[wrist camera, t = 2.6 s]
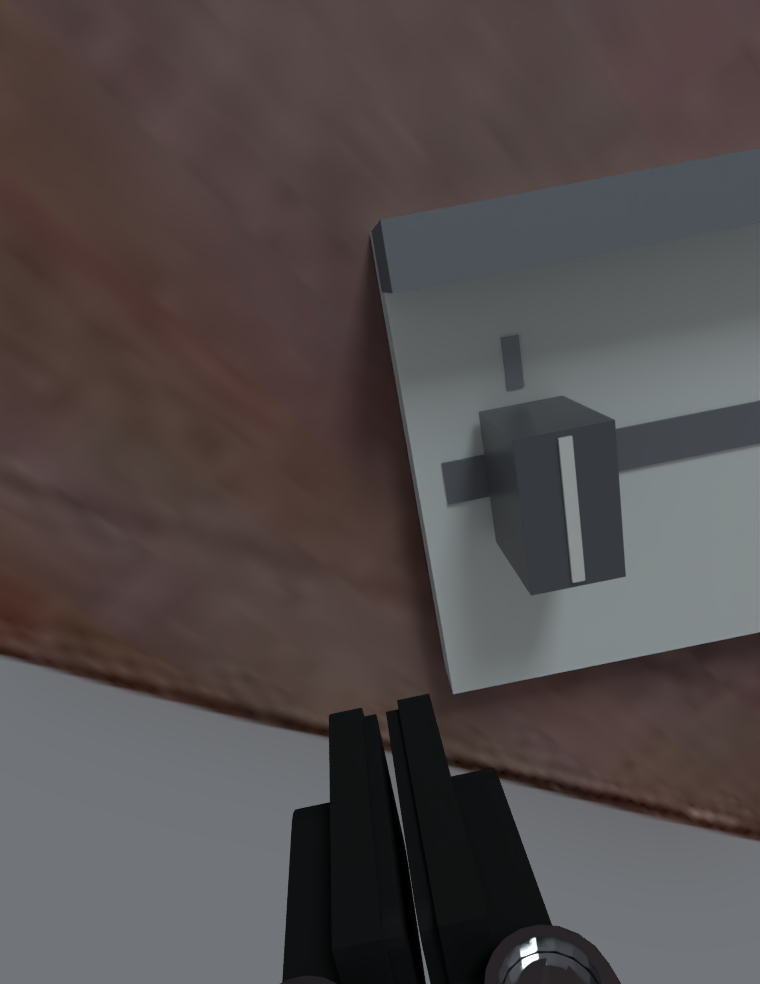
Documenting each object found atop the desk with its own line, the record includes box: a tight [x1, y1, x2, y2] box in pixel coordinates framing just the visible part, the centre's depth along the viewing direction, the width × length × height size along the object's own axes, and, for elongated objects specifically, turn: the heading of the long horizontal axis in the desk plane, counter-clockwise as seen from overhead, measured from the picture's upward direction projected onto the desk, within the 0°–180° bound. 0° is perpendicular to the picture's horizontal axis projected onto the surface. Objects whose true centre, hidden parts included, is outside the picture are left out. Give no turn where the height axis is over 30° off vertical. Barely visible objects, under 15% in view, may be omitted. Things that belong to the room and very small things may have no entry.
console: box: [370, 148, 760, 694], centre depth 23 cm, size 20×18×5 cm
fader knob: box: [478, 396, 626, 596], centre depth 21 cm, size 3×5×4 cm, turn 10°
